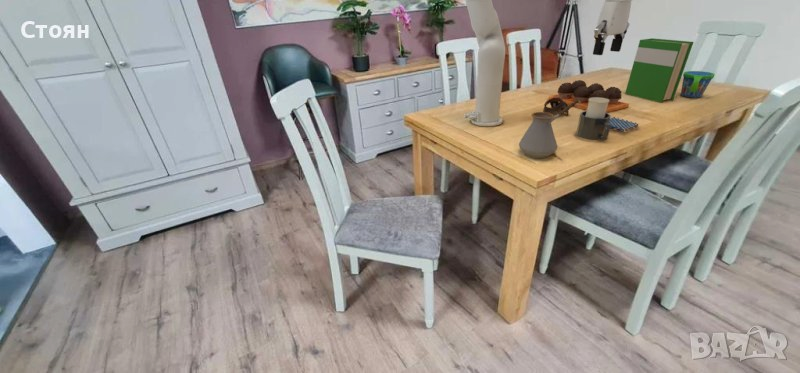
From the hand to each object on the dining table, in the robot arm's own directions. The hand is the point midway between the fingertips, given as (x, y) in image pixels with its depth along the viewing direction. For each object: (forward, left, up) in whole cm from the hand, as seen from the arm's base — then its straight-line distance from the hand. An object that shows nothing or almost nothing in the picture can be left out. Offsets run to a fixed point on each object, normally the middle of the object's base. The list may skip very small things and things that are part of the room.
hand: (606, 53), depth 115 cm
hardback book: (+47, +25, -26) cm, 59 cm away
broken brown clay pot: (-5, +15, -26) cm, 31 cm away
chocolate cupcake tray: (+16, +25, -26) cm, 40 cm away
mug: (-7, -12, -26) cm, 30 cm away
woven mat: (+7, -6, -26) cm, 28 cm away
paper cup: (-7, -11, -25) cm, 28 cm away
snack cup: (+64, +20, -26) cm, 72 cm away
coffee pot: (-27, -17, -26) cm, 41 cm away
